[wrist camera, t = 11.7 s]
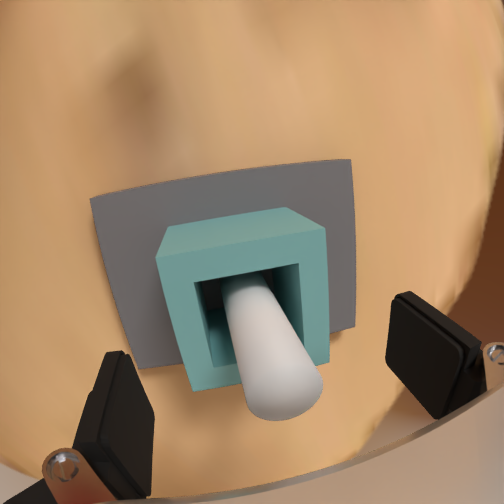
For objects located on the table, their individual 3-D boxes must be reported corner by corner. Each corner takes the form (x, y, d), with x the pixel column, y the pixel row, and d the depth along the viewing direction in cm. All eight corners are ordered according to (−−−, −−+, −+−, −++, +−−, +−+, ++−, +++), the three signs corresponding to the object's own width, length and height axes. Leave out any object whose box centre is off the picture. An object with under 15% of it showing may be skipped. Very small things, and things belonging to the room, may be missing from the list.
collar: (168, 226, 18) (155, 257, 12) (285, 206, 18) (325, 227, 13) (191, 331, 20) (192, 391, 14) (295, 311, 21) (329, 362, 15)
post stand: (97, 195, 18) (-25, 251, 6) (340, 159, 20) (490, 171, 8) (141, 357, 21) (118, 502, 9) (346, 317, 23) (442, 423, 12)
